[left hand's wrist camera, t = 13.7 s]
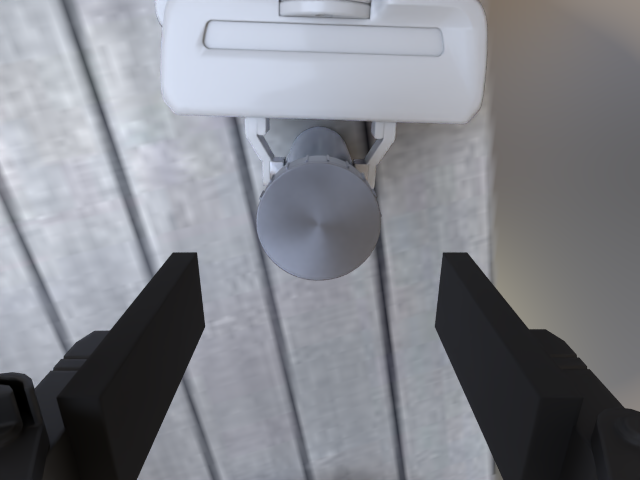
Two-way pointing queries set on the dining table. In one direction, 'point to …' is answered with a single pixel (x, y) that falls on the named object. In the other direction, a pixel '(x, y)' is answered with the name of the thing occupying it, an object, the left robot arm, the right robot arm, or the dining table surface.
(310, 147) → the grey cylinder
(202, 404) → the dining table surface
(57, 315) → the dining table surface
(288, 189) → the lid
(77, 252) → the dining table surface
